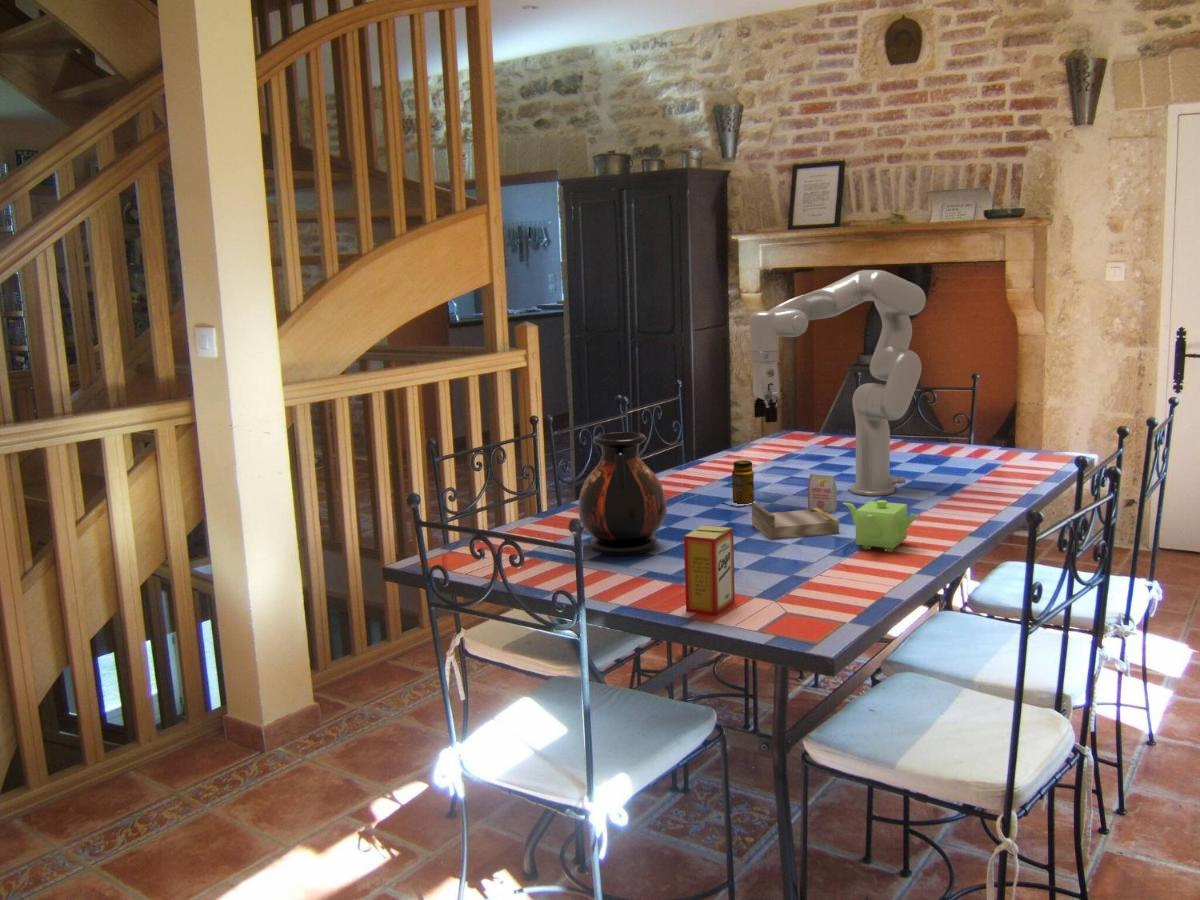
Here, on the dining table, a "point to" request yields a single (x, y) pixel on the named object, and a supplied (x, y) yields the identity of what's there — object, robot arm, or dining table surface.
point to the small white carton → (822, 493)
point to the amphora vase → (622, 498)
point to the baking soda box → (709, 569)
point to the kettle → (881, 524)
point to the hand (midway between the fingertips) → (765, 419)
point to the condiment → (743, 482)
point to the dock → (793, 523)
